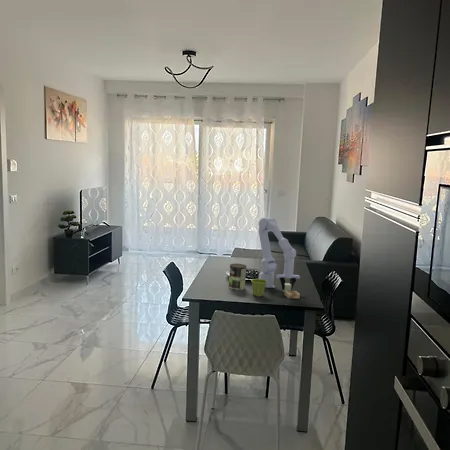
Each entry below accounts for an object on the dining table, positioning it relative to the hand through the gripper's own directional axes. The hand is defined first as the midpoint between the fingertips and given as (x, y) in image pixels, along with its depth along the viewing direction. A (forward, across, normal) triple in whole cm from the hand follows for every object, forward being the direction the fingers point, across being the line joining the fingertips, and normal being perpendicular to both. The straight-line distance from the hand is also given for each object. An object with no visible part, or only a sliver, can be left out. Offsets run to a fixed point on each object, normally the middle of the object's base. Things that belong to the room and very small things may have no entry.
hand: (286, 289), depth 265 cm
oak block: (+2, 0, -9) cm, 9 cm away
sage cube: (+2, 0, 0) cm, 2 cm away
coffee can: (+2, -30, +8) cm, 31 cm away
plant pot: (+2, -20, -7) cm, 21 cm away
